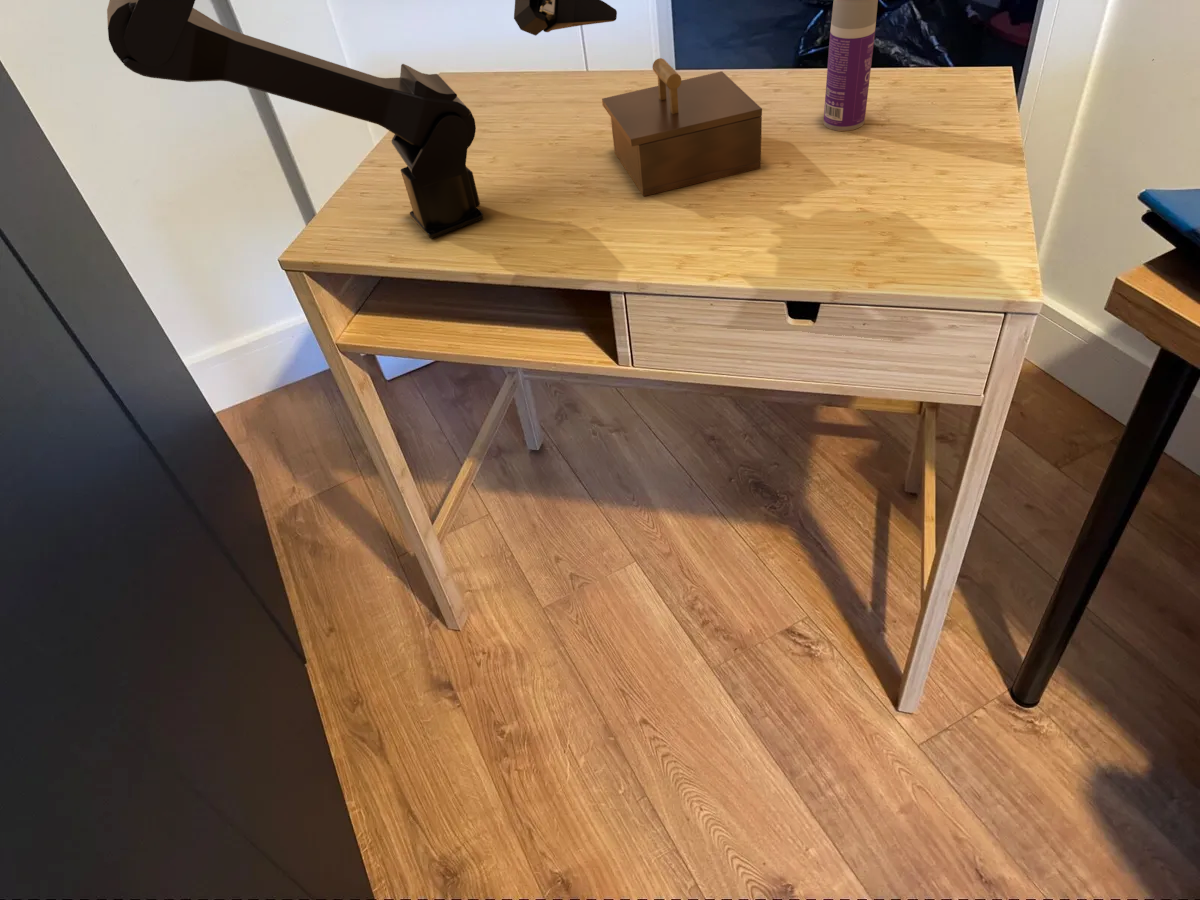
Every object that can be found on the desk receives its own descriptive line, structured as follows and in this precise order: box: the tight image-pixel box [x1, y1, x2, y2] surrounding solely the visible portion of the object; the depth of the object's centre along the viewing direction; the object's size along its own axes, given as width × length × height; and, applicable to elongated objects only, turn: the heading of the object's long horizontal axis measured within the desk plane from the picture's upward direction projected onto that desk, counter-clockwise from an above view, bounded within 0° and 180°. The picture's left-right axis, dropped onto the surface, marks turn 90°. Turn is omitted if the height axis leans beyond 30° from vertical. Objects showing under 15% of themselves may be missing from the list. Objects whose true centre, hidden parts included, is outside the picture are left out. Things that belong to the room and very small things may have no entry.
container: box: [822, 0, 879, 132], centre depth 91 cm, size 5×5×15 cm
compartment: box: [610, 115, 763, 197], centre depth 92 cm, size 14×12×6 cm
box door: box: [601, 57, 763, 146], centre depth 88 cm, size 14×12×5 cm
